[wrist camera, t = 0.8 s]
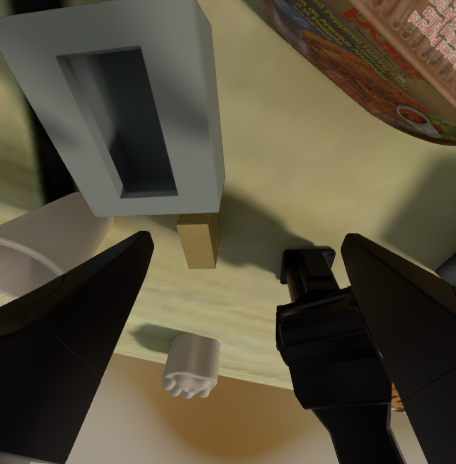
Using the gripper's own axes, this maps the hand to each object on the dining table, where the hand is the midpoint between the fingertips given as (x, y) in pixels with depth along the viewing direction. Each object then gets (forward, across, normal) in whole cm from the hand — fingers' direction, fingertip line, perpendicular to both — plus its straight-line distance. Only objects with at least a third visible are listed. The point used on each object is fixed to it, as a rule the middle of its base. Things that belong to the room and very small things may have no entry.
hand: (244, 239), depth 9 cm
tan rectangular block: (+13, +5, +7) cm, 15 cm away
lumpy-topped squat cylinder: (+14, +11, +43) cm, 46 cm away
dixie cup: (+13, +19, +6) cm, 24 cm away
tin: (+13, -8, -7) cm, 17 cm away
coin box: (+12, +7, -4) cm, 15 cm away
